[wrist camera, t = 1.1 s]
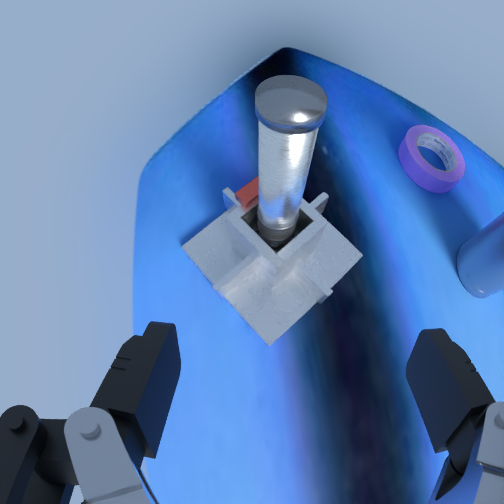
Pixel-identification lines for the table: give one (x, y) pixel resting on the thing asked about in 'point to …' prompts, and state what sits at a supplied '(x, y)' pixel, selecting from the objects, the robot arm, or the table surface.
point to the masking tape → (421, 168)
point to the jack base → (270, 262)
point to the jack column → (285, 151)
